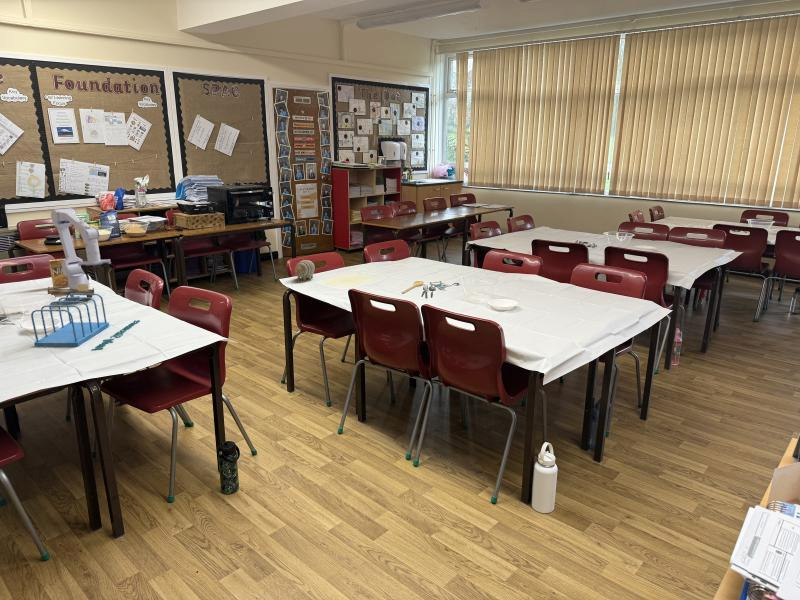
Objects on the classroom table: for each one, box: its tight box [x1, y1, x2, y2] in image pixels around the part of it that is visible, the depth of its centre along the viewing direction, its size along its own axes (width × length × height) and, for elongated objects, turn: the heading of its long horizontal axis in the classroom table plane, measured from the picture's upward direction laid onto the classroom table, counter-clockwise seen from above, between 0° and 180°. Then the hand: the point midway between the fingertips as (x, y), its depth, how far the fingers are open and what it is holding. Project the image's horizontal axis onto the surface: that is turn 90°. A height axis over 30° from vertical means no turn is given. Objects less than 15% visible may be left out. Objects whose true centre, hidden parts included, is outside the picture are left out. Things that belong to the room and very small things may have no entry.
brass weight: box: [78, 284, 88, 292], centre depth 284 cm, size 4×4×4 cm
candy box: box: [48, 258, 70, 289], centre depth 308 cm, size 9×4×15 cm, turn 118°
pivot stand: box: [67, 292, 81, 305], centre depth 282 cm, size 6×11×5 cm, turn 29°
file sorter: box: [30, 293, 110, 347], centre depth 232 cm, size 25×17×15 cm
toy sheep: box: [294, 259, 316, 281], centre depth 329 cm, size 11×17×11 cm, turn 160°
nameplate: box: [90, 319, 141, 352], centre depth 236 cm, size 37×1×5 cm
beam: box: [47, 286, 95, 299], centre depth 282 cm, size 20×6×4 cm, turn 119°
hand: (96, 278), depth 285 cm, fingers open, 7 cm apart
